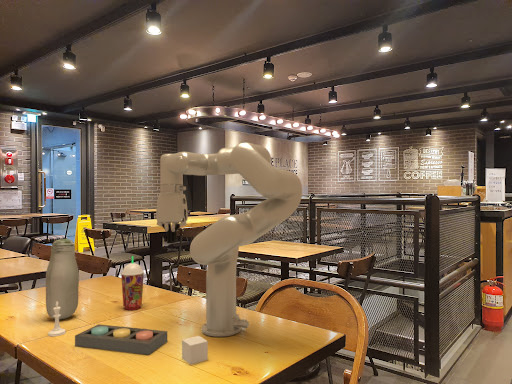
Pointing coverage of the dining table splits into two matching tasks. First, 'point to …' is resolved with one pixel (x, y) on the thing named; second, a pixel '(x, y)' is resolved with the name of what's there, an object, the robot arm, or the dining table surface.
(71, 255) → the grey bottle
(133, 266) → the smoothie
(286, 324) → the dining table surface
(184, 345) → the white cube
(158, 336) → the button panel
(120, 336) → the mustard button
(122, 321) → the dining table surface
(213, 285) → the robot arm
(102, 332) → the teal button
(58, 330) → the chess piece
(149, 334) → the brick button
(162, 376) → the dining table surface
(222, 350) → the dining table surface
